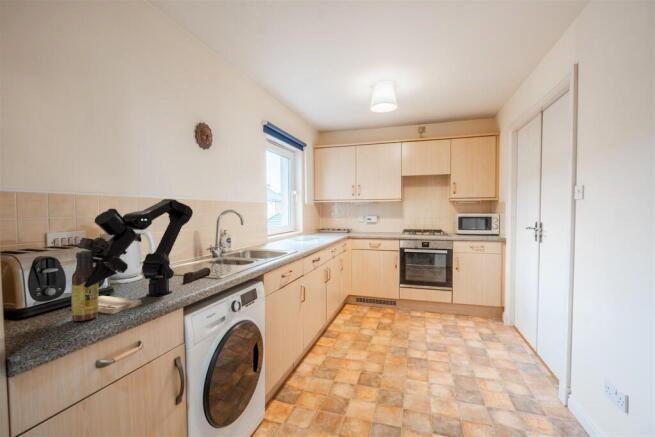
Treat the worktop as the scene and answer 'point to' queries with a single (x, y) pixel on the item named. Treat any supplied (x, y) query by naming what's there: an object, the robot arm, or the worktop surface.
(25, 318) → the worktop surface
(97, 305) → the sauce bottle
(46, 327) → the worktop surface
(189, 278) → the hand tool
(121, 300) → the birch board
